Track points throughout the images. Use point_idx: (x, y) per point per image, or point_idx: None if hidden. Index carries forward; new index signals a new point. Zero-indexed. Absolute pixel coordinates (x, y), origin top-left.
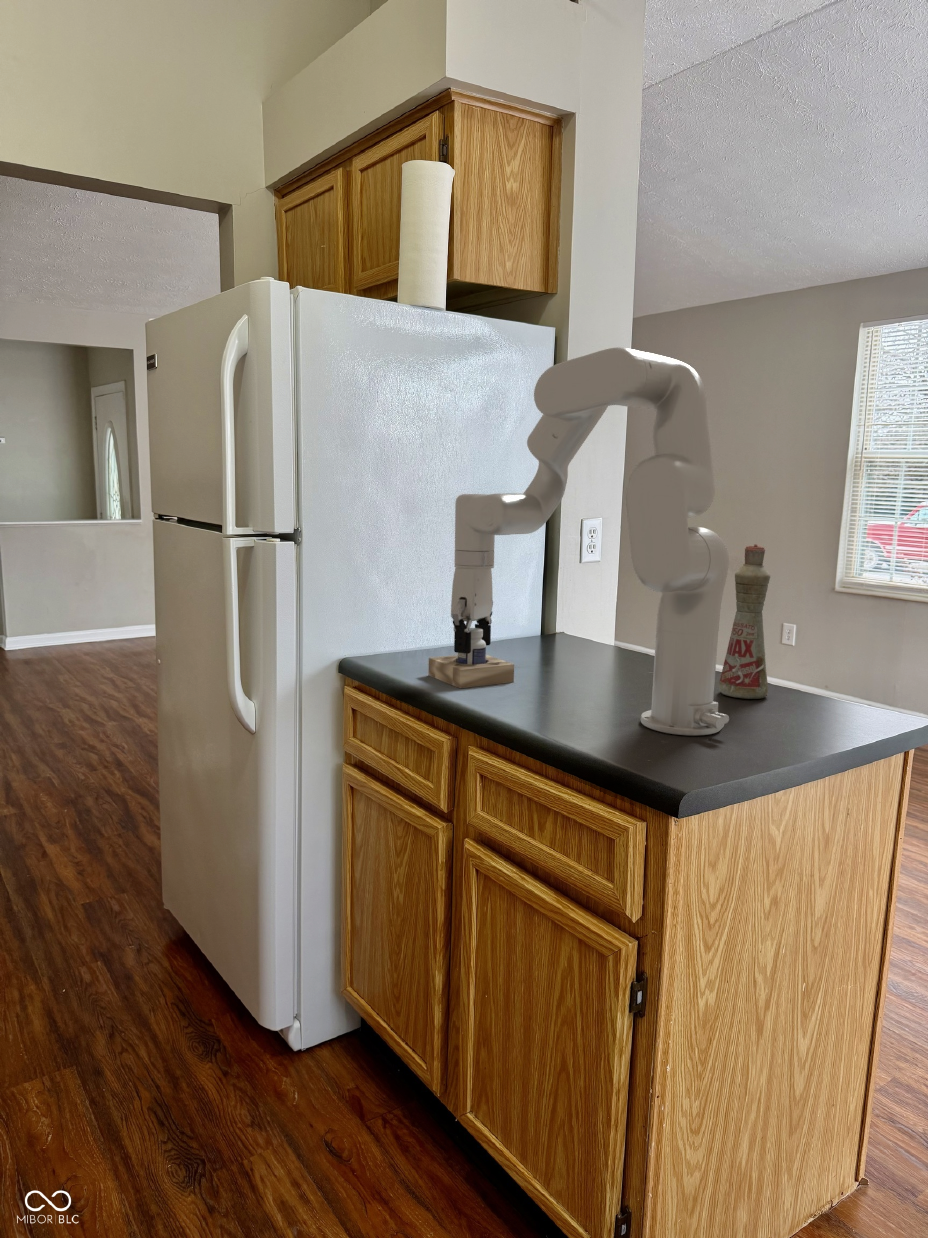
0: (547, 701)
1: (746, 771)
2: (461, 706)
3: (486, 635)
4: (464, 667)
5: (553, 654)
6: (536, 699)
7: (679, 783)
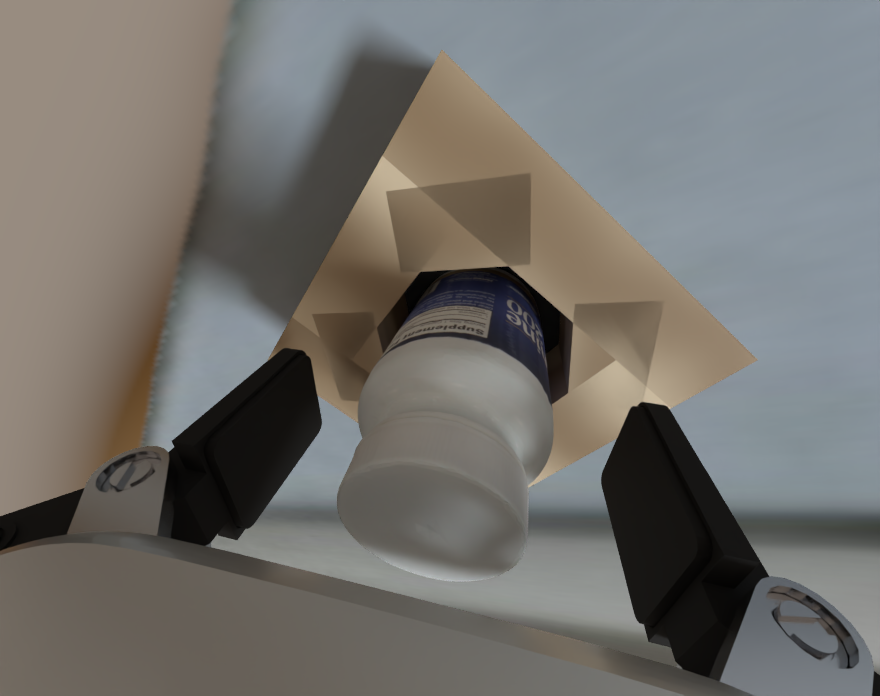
0: (332, 520)
1: None
2: (155, 376)
3: (620, 528)
4: (316, 365)
5: None
6: (334, 504)
7: None
